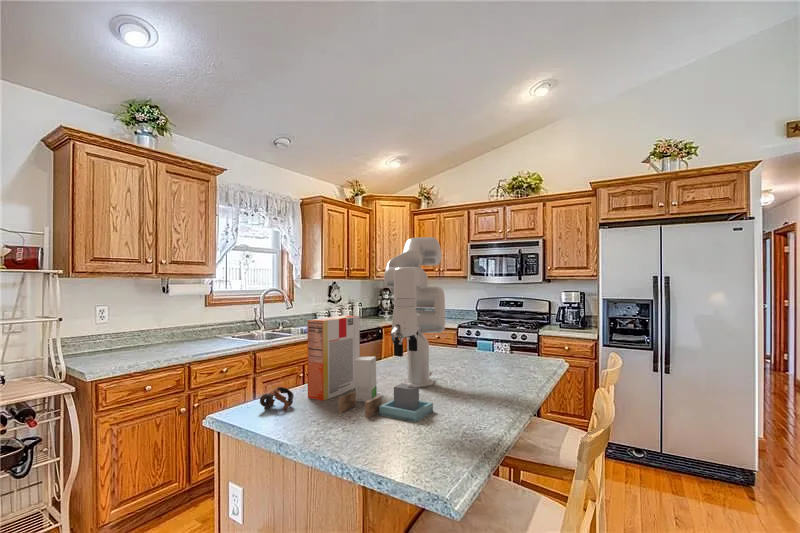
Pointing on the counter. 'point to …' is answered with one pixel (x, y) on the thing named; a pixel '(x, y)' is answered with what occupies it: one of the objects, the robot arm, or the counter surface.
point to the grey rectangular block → (406, 396)
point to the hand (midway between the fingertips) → (406, 353)
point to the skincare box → (365, 378)
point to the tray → (406, 411)
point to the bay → (350, 401)
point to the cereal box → (332, 355)
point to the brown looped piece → (278, 396)
